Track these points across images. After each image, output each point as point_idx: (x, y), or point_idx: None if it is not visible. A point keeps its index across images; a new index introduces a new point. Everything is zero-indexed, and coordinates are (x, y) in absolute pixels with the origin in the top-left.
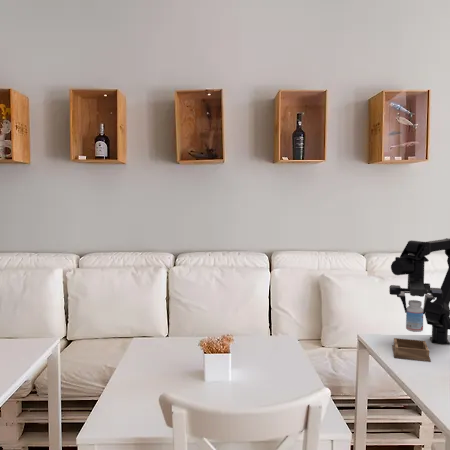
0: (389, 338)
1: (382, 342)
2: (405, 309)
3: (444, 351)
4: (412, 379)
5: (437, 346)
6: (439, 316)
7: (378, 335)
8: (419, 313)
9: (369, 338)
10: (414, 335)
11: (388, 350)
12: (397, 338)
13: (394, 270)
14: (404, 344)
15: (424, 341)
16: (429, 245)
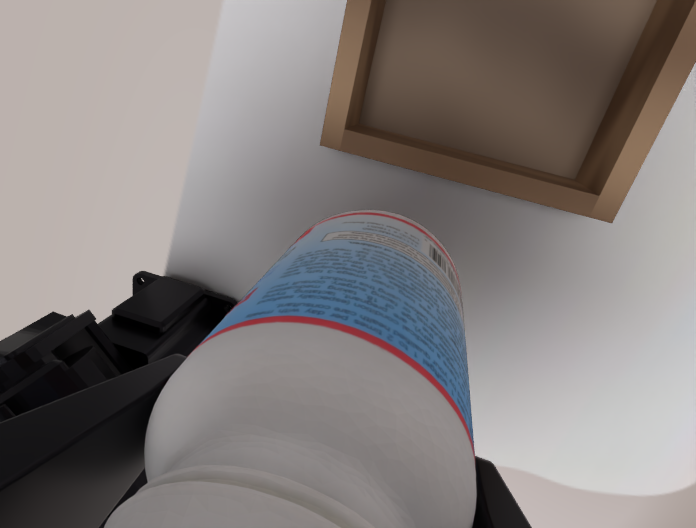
0: (505, 398)
1: (612, 322)
2: (508, 515)
3: (201, 132)
4: None
5: (222, 237)
6: (23, 385)
7: (560, 458)
8: (267, 315)
9: (676, 410)
10: None
11: (673, 124)
12: (577, 210)
13: None
14: (508, 165)
15: (331, 126)
16: None
